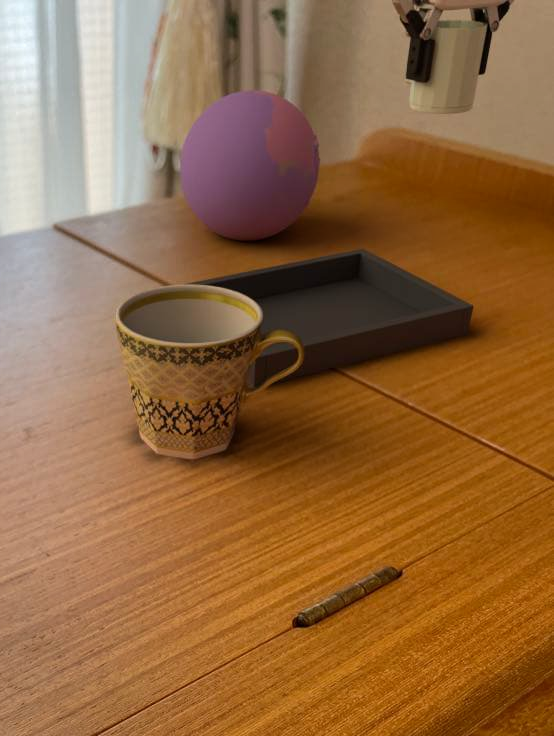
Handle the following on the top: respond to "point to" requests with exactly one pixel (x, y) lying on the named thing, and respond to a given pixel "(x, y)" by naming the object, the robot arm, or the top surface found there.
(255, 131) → the decorative ball
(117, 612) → the top surface
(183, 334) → the ceramic cup
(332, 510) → the top surface
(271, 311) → the dark grey tray
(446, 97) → the mug
